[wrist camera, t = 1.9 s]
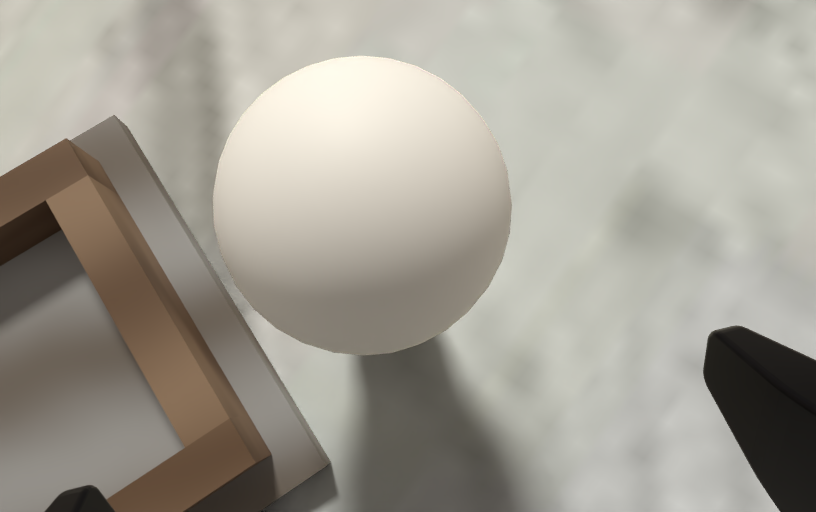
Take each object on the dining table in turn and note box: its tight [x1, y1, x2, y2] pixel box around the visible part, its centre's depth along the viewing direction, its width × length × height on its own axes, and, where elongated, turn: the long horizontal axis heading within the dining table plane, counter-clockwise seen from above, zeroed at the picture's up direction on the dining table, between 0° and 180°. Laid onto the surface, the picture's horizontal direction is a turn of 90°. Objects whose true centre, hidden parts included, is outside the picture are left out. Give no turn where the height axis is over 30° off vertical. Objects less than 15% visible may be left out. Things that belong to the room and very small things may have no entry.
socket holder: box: [0, 115, 330, 512], centre depth 18 cm, size 14×14×3 cm
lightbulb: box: [213, 56, 512, 355], centre depth 15 cm, size 6×6×11 cm
